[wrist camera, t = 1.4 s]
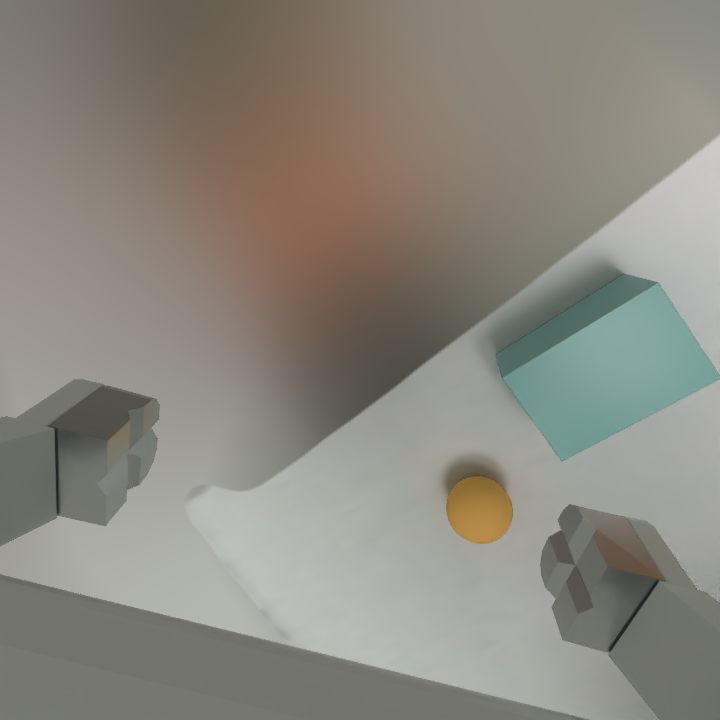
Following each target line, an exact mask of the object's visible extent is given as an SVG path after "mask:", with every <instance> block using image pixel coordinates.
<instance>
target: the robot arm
mask: <svg viewBox="0 0 720 720" xmlns="http://www.w3.org/2000/svg"><path fill="white" fill-rule="evenodd" d="M159 410H160V404H159V402H158V401H157V399H155V398H151V397H147V396H144V395H140V394H136V393H133V392H129V391H125V390H122V389H118V388H115V387H111V386H105V385H103V384H100V383H96V382H92V381H88V380H84V379H75V380H73V381H71V382H70V383H68V384H67V385H66V386H64V387H63V388H61V389H59V390H58V391H56V392H55V393H53V394H52V395H50V396H49V397H47V398H46V399H44V400H43V401H41V402H40V403H38V404H37V405H35V406H34V407H32V408H31V409H29V410H28V411H26V412H25V413H23V414H21V415H20V416H18V417H17V418H11V417H7V416H6V417H2V418H0V546H2V545H3V544H5V543H7V542H9V541H12V540H14V539H16V538H18V537H20V536H22V535H23V534H26V533H28V532H30V531H32V530H34V529H36V528H38V527H40V526H42V525H44V524H46V523H48V522H50V521H52V520H54V519H56V518H57V516H62V517H66V518H71V519H75V520H80V521H85V522H89V523H94V524H98V525H103V526H106V525H107V524H108V522H109V521H110V520H111V519H112V517H113V516H114V515H115V514H116V513H117V512H118V510H119V509H120V508H121V507H122V506H123V504H124V503H125V502H126V499H127V498H126V497H127V490H128V489H130V488H133V487H135V486H138V485H140V483H141V482H142V481H143V480H144V478H145V477H146V476H147V474H148V472H149V470H150V468H151V466H152V463H153V461H154V458H155V454H156V450H157V441H158V440H157V439H158V438H157V437H156V435H155V433H154V432H153V430H152V426H153V425H154V424H155V423H156V422H157V421H158V420H159ZM558 522H559V525H560V529H561V531H559V532H557V533H555V534H553V535H552V536H550V537H549V538H548V540H547V542H546V544H545V546H544V548H543V551H542V557H541V575H542V578H543V582H544V585H545V587H546V588H547V589H548V590H549V591H550V593H551V594H552V595H553V596H554V597H555V598H556V600H555V602H554V604H553V606H552V610H553V613H554V616H555V619H556V621H557V624H558V627H559V630H560V633H561V636H562V639H563V640H565V641H568V642H572V643H575V644H579V645H583V646H586V647H590V648H593V649H597V650H601V651H604V652H608V653H609V656H610V658H611V659H612V660H613V661H614V663H615V664H616V665H617V667H618V668H619V669H620V670H621V672H622V673H623V674H624V675H625V677H626V678H627V679H628V680H629V682H630V683H631V684H632V685H633V687H634V688H635V689H636V690H637V692H638V693H639V694H640V695H641V697H642V698H643V699H644V701H645V702H646V703H647V704H648V706H649V707H650V708H651V709H652V711H653V712H654V713H655V714H656V716H657V717H658V718H659V719H660V720H720V603H719V602H718V601H716V600H715V599H714V598H712V597H711V596H710V595H709V594H707V593H706V592H703V591H699V590H697V589H696V588H695V586H694V585H693V583H692V582H691V580H690V579H689V577H688V576H687V574H686V573H685V571H684V570H683V569H682V567H681V566H680V564H679V563H678V561H677V560H676V558H675V557H674V555H673V554H672V552H671V551H670V549H669V548H668V547H667V545H666V544H665V542H664V541H663V539H662V538H661V536H660V535H659V533H658V532H657V530H656V529H655V528H654V526H652V525H651V524H649V523H648V522H646V521H642V520H637V519H633V518H628V517H624V516H617V515H613V514H609V513H604V512H600V511H596V510H591V509H587V508H583V507H579V506H574V505H570V504H569V505H568V506H567V507H566V508H565V509H564V510H563V511H562V513H561V515H560V517H559V519H558ZM0 720H588V719H584V718H580V717H576V716H572V715H568V714H564V713H560V712H556V711H552V710H548V709H544V708H540V707H536V706H532V705H528V704H524V703H520V702H516V701H511V700H507V699H503V698H499V697H495V696H491V695H487V694H483V693H479V692H475V691H471V690H467V689H463V688H459V687H455V686H451V685H447V684H443V683H439V682H435V681H431V680H427V679H423V678H418V677H414V676H410V675H406V674H402V673H398V672H394V671H390V670H386V669H382V668H378V667H374V666H370V665H366V664H362V663H358V662H354V661H350V660H346V659H342V658H338V657H334V656H330V655H326V654H322V653H318V652H313V651H309V650H305V649H301V648H297V647H293V646H289V645H285V644H281V643H277V642H273V641H269V640H265V639H261V638H257V637H253V636H248V635H245V634H240V633H236V632H232V631H228V630H224V629H220V628H216V627H212V626H208V625H204V624H199V623H196V622H191V621H187V620H183V619H179V618H175V617H171V616H167V615H163V614H159V613H154V612H151V611H146V610H142V609H138V608H134V607H130V606H126V605H122V604H117V603H114V602H110V601H105V600H102V599H97V598H93V597H89V596H85V595H81V594H77V593H73V592H69V591H65V590H61V589H57V588H53V587H49V586H45V585H41V584H37V583H33V582H29V581H25V580H21V579H17V578H13V577H9V576H5V575H1V574H0Z"/></svg>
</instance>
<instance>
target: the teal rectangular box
mask: <svg viewBox="0 0 720 720" xmlns="http://www.w3.org/2000/svg"><path fill="white" fill-rule="evenodd" d="M496 357H497V361H498V364H499V368H500V372H501V376H502V379H503V380H504V381H505V383H506V384H507V386H508V387H509V388H510V390H511V391H512V393H513V394H514V395H515V397H516V398H517V400H518V401H519V402H520V404H521V405H522V407H523V408H524V409H525V411H526V412H527V414H528V415H529V416H530V418H531V419H532V421H533V422H534V423H535V425H536V426H537V428H538V429H539V430H540V432H541V433H542V435H543V436H544V438H545V439H546V440H547V442H548V443H549V445H550V446H551V447H552V449H553V450H554V452H555V453H556V454H557V456H558V457H559V459H560V460H561V461H563V460H565V459H567V458H569V457H571V456H573V455H575V454H577V453H579V452H581V451H583V450H585V449H586V448H588V447H590V446H592V445H594V444H596V443H598V442H600V441H602V440H604V439H606V438H608V437H609V436H611V435H613V434H615V433H617V432H619V431H621V430H623V429H625V428H627V427H629V426H631V425H632V424H634V423H636V422H638V421H640V420H642V419H644V418H646V417H648V416H650V415H652V414H654V413H655V412H657V411H659V410H661V409H663V408H665V407H667V406H669V405H671V404H673V403H675V402H677V401H678V400H680V399H682V398H684V397H686V396H688V395H690V394H692V393H694V392H696V391H698V390H700V389H701V388H703V387H705V386H707V385H709V384H711V383H713V382H715V381H717V380H719V379H720V375H719V373H718V372H717V370H716V369H715V367H714V366H713V364H712V363H711V361H710V360H709V358H708V357H707V355H706V354H705V352H704V351H703V349H702V348H701V346H700V345H699V343H698V342H697V340H696V339H695V337H694V336H693V334H692V333H691V331H690V330H689V328H688V327H687V325H686V324H685V322H684V321H683V319H682V318H681V316H680V315H679V313H678V312H677V310H676V309H675V307H674V305H673V304H672V302H671V301H670V299H669V298H668V296H667V295H666V293H665V292H664V290H663V289H662V287H661V286H660V284H659V283H657V282H653V281H650V280H646V279H642V278H638V277H634V276H630V275H627V274H623V275H621V276H619V277H618V278H616V279H615V280H613V281H612V282H610V283H608V284H607V285H605V286H604V287H602V288H600V289H599V290H597V291H596V292H594V293H592V294H591V295H589V296H588V297H586V298H585V299H583V300H581V301H580V302H578V303H577V304H575V305H573V306H572V307H570V308H569V309H567V310H565V311H564V312H562V313H561V314H559V315H558V316H556V317H554V318H553V319H551V320H550V321H548V322H546V323H545V324H543V325H542V326H540V327H538V328H537V329H535V330H534V331H532V332H531V333H529V334H527V335H526V336H524V337H523V338H521V339H519V340H518V341H516V342H515V343H513V344H511V345H510V346H508V347H507V348H505V349H504V350H502V351H500V352H499V353H497V354H496Z"/></svg>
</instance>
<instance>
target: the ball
mask: <svg viewBox="0 0 720 720" xmlns="http://www.w3.org/2000/svg"><path fill="white" fill-rule="evenodd" d="M446 510H447V516H448V519H449V522H450V524H451V526H452V527H453V529H454V530H455V531H456V532H457V533H458V534H459V535H460V536H461V537H463V538H464V539H466V540H468V541H470V542H474V543H480V544H484V543H490V542H493V541H496V540H497V539H499V538H500V537H502V536H503V535H504V534H505V533H506V531H507V530H508V528H509V526H510V524H511V521H512V516H513V509H512V503H511V500H510V498H509V496H508V494H507V492H506V491H505V490H504V488H503V487H502V486H501V485H499V484H498V483H497V482H496V481H494V480H492V479H489V478H486V477H482V476H472V477H468V478H465V479H463V480H461V481H460V482H458V483H457V484H456V485H455V486H454V487H453V488H452V490H451V491H450V493H449V496H448V499H447V504H446Z"/></svg>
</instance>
